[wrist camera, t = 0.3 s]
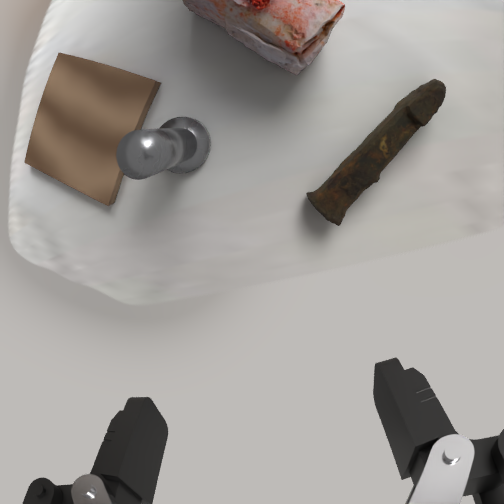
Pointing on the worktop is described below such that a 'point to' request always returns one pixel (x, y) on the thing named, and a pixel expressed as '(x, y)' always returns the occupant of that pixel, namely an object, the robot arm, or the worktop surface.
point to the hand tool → (377, 151)
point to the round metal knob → (164, 148)
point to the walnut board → (87, 124)
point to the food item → (275, 26)
